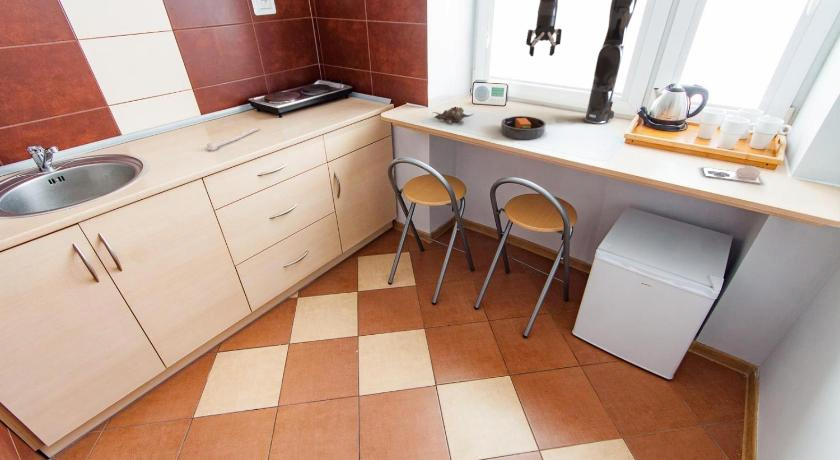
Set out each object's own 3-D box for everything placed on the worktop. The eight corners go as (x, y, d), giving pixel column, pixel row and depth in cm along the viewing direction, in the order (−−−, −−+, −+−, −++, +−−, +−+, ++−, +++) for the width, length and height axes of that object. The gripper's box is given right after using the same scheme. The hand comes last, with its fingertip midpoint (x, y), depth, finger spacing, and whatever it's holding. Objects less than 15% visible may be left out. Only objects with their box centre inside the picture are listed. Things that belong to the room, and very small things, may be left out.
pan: (536, 125, 178) (538, 115, 175) (550, 139, 162) (551, 128, 160) (496, 126, 177) (497, 116, 175) (506, 141, 162) (507, 130, 159)
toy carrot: (513, 126, 175) (514, 116, 173) (522, 125, 175) (523, 115, 173) (520, 135, 165) (521, 125, 162) (530, 135, 165) (532, 124, 162)
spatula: (253, 129, 182) (251, 123, 181) (260, 130, 181) (258, 124, 179) (205, 150, 161) (203, 143, 159) (212, 151, 159) (210, 144, 158)
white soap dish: (755, 175, 129) (761, 163, 127) (760, 184, 124) (766, 171, 122) (703, 168, 135) (707, 156, 132) (705, 176, 130) (710, 164, 127)
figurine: (430, 113, 178) (433, 104, 192) (431, 126, 181) (433, 116, 196) (474, 111, 176) (473, 101, 190) (474, 124, 179) (473, 114, 193)
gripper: (532, 14, 157) (527, 57, 166) (567, 13, 158) (560, 56, 167) (527, 13, 164) (522, 54, 173) (560, 12, 164) (554, 53, 173)
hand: (541, 55), depth 170 cm, fingers open, 8 cm apart
